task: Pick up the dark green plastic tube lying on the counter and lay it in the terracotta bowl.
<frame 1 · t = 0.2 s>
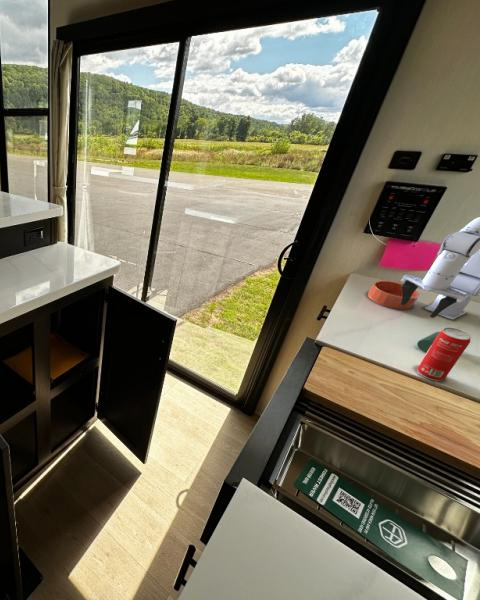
hand: (417, 310, 101), 10 cm above the countertop, tool pointing down, fingers open, 7 cm apart
bowl: (389, 299, 123), on the countertop
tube: (430, 346, 101), on the countertop
beverage can: (427, 374, 91), on the countertop
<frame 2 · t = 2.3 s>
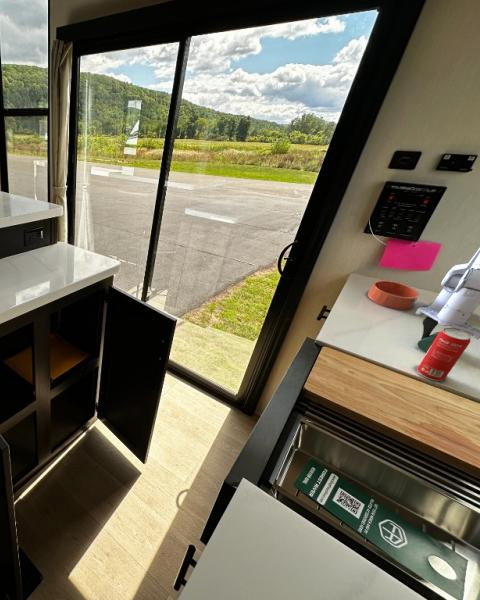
hand: (432, 342, 100), 1 cm above the countertop, tool pointing down, fingers closed on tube, 4 cm apart
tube: (430, 346, 101), on the countertop, touching gripper
everything else where it was.
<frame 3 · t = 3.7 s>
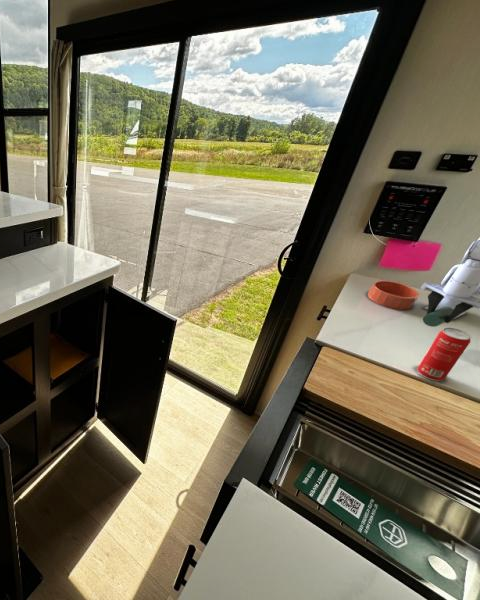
hand: (438, 318, 100), 8 cm above the countertop, tool pointing down, fingers closed on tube, 4 cm apart
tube: (435, 321, 100), point 7 cm above the countertop, touching gripper
everything else where it was.
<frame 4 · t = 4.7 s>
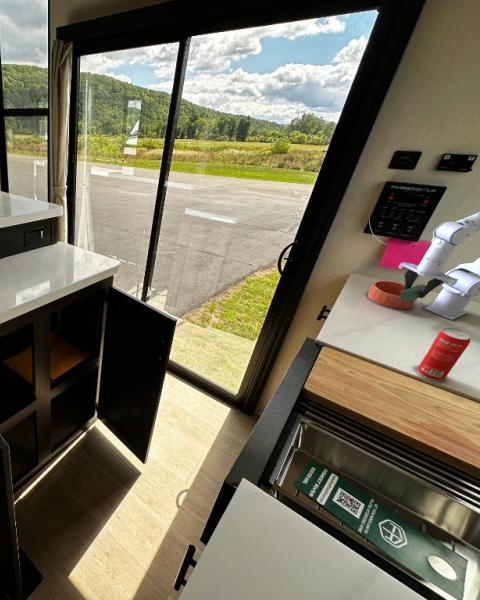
hand: (413, 294, 111), 8 cm above the countertop, tool pointing down, fingers closed on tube, 4 cm apart
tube: (411, 297, 112), point 7 cm above the countertop, touching gripper
everything else where it was.
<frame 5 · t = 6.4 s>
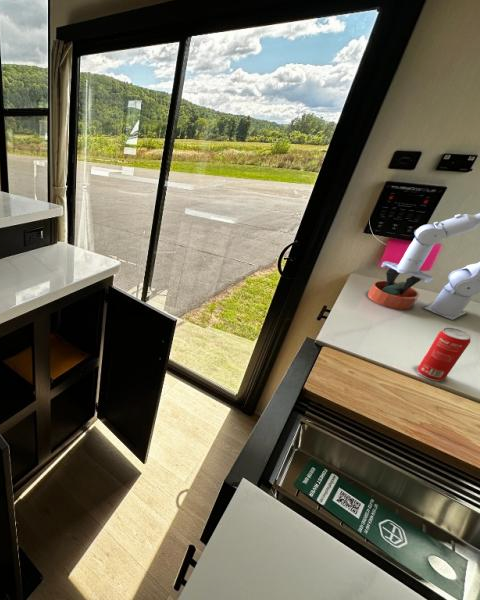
hand: (394, 290, 121), 4 cm above the countertop, tool pointing down, fingers closed on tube, 4 cm apart
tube: (392, 293, 122), point 3 cm above the countertop, touching gripper
everything else where it was.
when the fingers open (2 cm above the countertop, at t = 7.6 s): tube stays where it is, resting on bowl.
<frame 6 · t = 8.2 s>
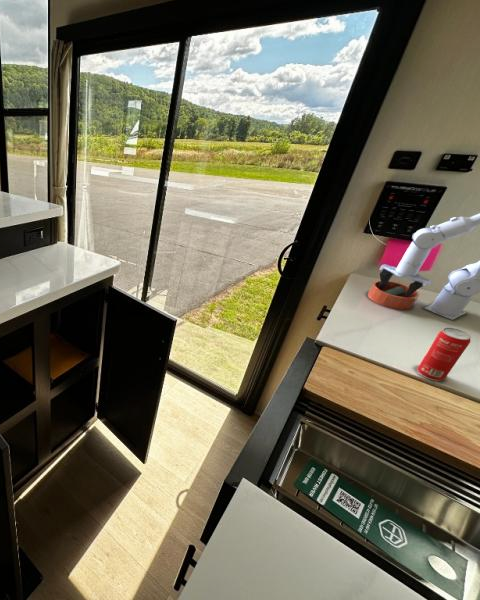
hand: (392, 293, 122), 3 cm above the countertop, tool pointing down, fingers open, 7 cm apart
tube: (389, 298, 123), point 1 cm above the countertop, touching bowl
everything else where it was.
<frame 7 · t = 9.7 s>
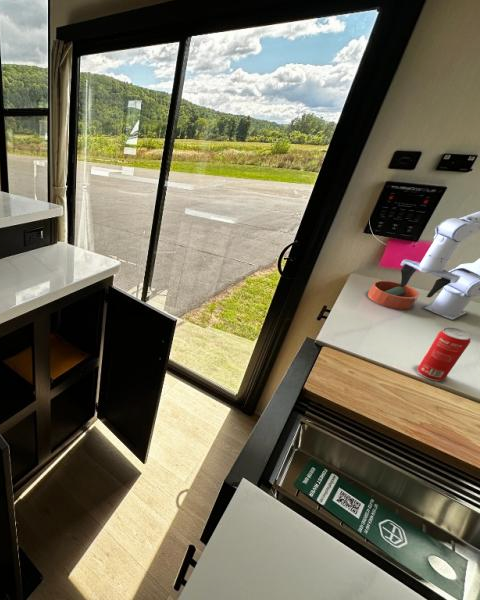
hand: (415, 291, 111), 9 cm above the countertop, tool pointing down, fingers open, 7 cm apart
nothing on the countertop moved.
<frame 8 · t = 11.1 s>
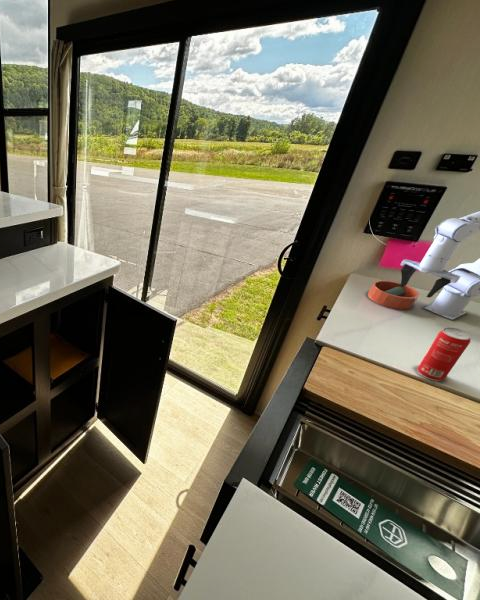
hand: (415, 291, 111), 9 cm above the countertop, tool pointing down, fingers open, 7 cm apart
nothing on the countertop moved.
at the end: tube inside the target area in the bowl (0.1 cm from its centre), point 0.6 cm above the bowl's base; the gripper is holding nothing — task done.
